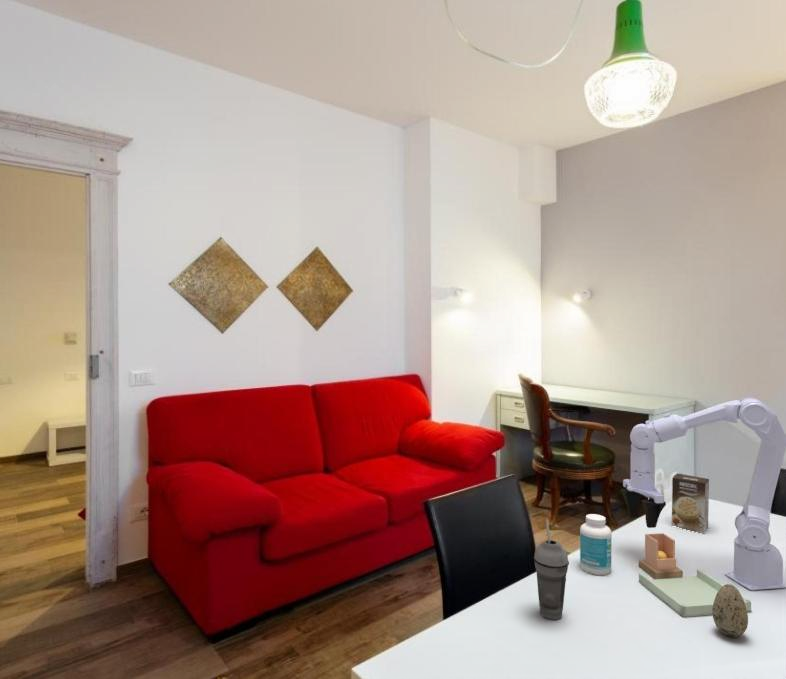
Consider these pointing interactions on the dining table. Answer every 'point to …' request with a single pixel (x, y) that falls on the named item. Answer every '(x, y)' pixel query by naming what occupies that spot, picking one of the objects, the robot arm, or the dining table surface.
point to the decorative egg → (730, 611)
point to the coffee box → (690, 502)
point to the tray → (687, 593)
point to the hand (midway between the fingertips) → (642, 521)
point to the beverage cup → (551, 576)
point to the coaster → (662, 573)
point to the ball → (661, 555)
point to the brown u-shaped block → (660, 544)
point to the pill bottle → (595, 545)
